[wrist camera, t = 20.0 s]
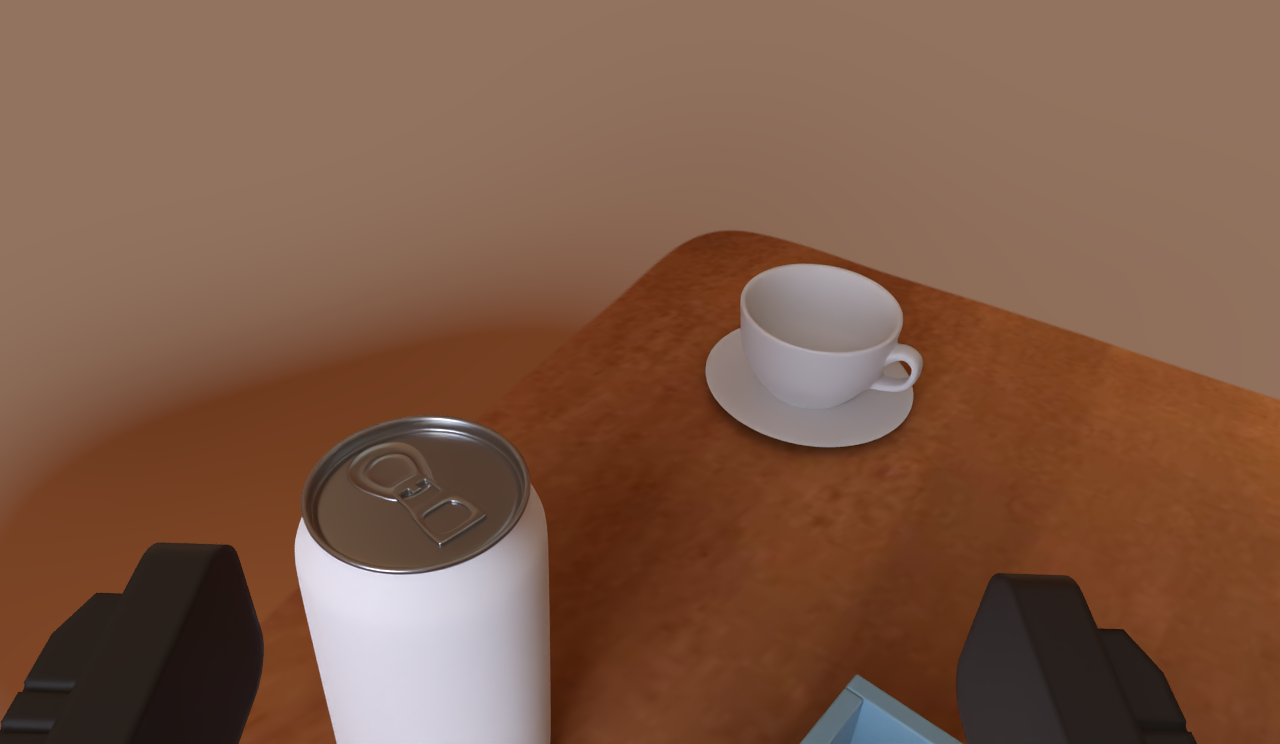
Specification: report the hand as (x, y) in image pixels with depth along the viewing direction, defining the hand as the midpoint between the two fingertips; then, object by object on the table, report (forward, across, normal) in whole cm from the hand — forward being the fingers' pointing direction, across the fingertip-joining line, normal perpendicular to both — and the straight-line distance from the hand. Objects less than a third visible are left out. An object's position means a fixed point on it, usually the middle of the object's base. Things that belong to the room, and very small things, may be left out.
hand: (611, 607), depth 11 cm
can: (+11, +5, +21) cm, 24 cm away
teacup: (+31, -9, +22) cm, 39 cm away
